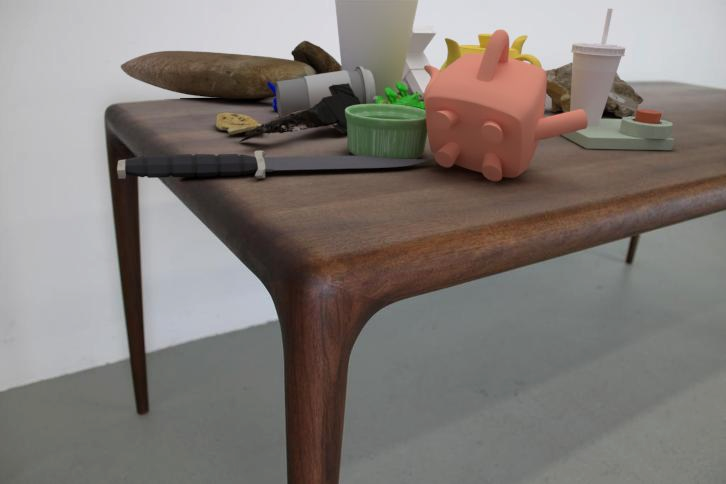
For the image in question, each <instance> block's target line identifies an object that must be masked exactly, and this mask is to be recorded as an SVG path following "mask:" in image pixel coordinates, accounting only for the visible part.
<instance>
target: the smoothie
mask: <svg viewBox="0 0 726 484" xmlns="http://www.w3.org/2000/svg"><path fill="white" fill-rule="evenodd" d="M613 11H614V9H613V8H607V11H606V16H605V23H604V28H603V33H602V37H601V43H583V42H581V43H580V42H579V43H572V44H571V45H572V46H571V50H570V52H571V53H572V62H573V65H572V84H571V102H570V111H574V110H578V109H583V110H584V111H585V113H586V116H587V120H588V125H587V126H597V125H599V123H600V120H601V119H602V116H603V113H604V112H603V111H604V108H605V105H606V102H607V99H608V96H609V93H610V90H611V87H612V84H613V81H614V78H615V75H616V72H617V73H618V68H619V67H620V63H621V59H622V57H625V52H626V48H627V47H625V46H621V45H617V44H609V43H608V44H607V41H608V37H609V36H608V35H609V31H610V25H611V20H612V15H613Z"/></svg>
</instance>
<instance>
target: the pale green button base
mask: <svg viewBox="0 0 726 484" xmlns="http://www.w3.org/2000/svg"><path fill="white" fill-rule="evenodd" d="M635 117H636V116H633V115H632V116H629V115H628V116H626V117H621V118H601V120H600V123H599V125H597V126H587V128H586V129H582V130H578V131H574V132H570V133H566V134H562V135H561V137H563V138H565V139H568V140H569V141H571V142H573V143H575V144H577V145H578V146H580V147H582V148H584V149H587V150H631V151H632V150H633V151H634V150H635V151H673V147H674V144H675V138H672V137H671V135H672V132H673V128H674V123H673V122H670V121H668V120H665V119H660V123H659V124H648V123H641V122H636V121H635Z"/></svg>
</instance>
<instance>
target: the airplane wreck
mask: <svg viewBox="0 0 726 484" xmlns="http://www.w3.org/2000/svg"><path fill="white" fill-rule="evenodd" d="M329 90H330V92H331V95H332V96H327V97H323V98H322V100H321V101H320V102H319V103H318V104H316V105H315V106H313V107H312V108H310V109H305V110H301V111H296V112H293V113H291V114H288V115H286V116H283V117H280V116H279V115H278V116H277V117H275V118H274V119H272V120H271V121H267V122H265V123H261V124H262V125H261V126H257V127H256V128H254V129H253V130H249V131H245V132H244V136H245V137H243V138H241V139H240V140H239V143H242V142H245V141H248V140H251V139H252V138H255V137H257V136H260V138H261V139H263V135H265V134H267V135H270V134H277V133H278V134H280V135H282V134H284V133H293V132H296V131H299V130H300V131H302V130H303V131H305V130H310V129H317V128H320V127H327V126H332V127H333V128H334V129H336V130H337V131H339V133H342V134H347V119H346V116H345V109H346V108H347V107H349V106H353V105H360V104H361V103H360V101H359V99H358V97H356V96H355V94H354V92H353V90H352V88H351V86H350V84H349V83H347V84H339V85H334V84H333V85H332V86H330V87H329ZM290 121H292V122H290ZM292 124H293V125H292ZM301 124H302V125H304V126H305V127H300V126H301ZM295 128H299V130H298V129H295Z"/></svg>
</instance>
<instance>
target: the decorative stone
mask: <svg viewBox="0 0 726 484" xmlns="http://www.w3.org/2000/svg"><path fill="white" fill-rule="evenodd" d="M290 54H291V56H292V57H293V60H294V61H299V62H303V63H305V64H307V65H309V66H311V67H312V68H313V69H314V70H315V71H316V75H317V74H324V73H330V72H337V71H342V66H341V63H339V61H337V60H336V58H334V56H332V55H331V54H330V53H329V52H327V51H326V50H325V49H323V48H322V47H321V46H319V45H316V44H315V43H312V42H310V41H309V40H303V41H301V42H299V43H298V44H297V45H296V46H295V47H294V49H293V50H291V53H290Z"/></svg>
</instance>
